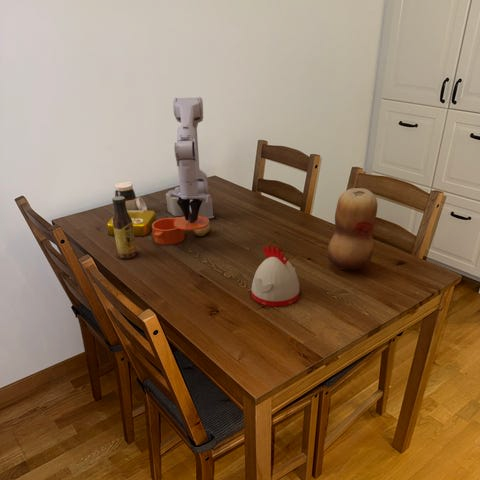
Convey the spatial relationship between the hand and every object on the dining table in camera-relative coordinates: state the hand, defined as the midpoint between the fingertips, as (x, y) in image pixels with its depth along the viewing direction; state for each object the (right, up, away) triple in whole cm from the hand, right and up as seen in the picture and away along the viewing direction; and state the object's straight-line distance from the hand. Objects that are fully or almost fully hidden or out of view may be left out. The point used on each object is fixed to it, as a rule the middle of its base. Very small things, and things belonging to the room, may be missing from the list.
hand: (191, 219), depth 159 cm
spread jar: (-27, +10, +34) cm, 44 cm away
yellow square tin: (-24, +1, +21) cm, 32 cm away
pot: (-9, -4, +12) cm, 16 cm away
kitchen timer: (+27, -26, -21) cm, 43 cm away
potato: (+2, -2, +15) cm, 15 cm away
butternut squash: (+51, -18, -10) cm, 54 cm away
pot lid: (0, -1, +1) cm, 1 cm away
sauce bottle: (-22, -12, +2) cm, 25 cm away
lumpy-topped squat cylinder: (-6, +11, +35) cm, 38 cm away
